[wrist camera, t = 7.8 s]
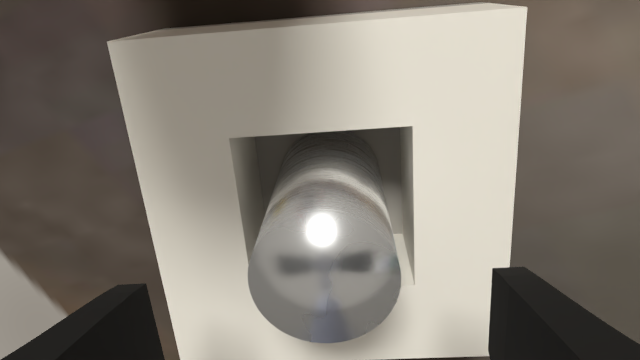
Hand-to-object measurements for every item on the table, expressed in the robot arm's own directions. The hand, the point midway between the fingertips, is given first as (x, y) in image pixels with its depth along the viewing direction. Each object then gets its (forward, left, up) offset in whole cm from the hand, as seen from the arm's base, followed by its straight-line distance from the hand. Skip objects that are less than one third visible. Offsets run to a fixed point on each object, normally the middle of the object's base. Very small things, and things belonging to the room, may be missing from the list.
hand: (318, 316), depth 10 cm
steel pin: (0, 0, -8) cm, 8 cm away
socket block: (0, 0, -9) cm, 9 cm away
